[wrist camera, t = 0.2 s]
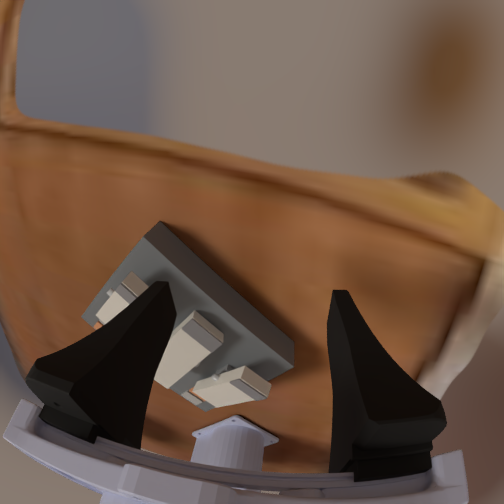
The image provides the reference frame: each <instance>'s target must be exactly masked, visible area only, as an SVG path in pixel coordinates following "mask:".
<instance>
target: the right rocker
mask: <svg viewBox="0 0 504 504" xmlns="http://www.w3.org/2000/svg"><path fill="white" fill-rule="evenodd" d="M270 388H271V384H270V383H268V382H267V381H266V380H264V379H263V378H261V377H260V376H259V375H257V374H256V373H255V372H253V371H252V370H251V369H249V368H248V367H246V366H243V367H240V368H237V369H234V370H231V371H228V372H225V373H222V374H219V375H218V374H216V373H214V374H213V375H212V376H211V377H209V378H206V379H203V380H200V381H197V382H196V385H195V387H194V389H193V391H192V392H194V393H195V394H197V395H198V396H200V397H201V398H203V399H204V400H206V401H207V402H209V403H210V404H212V405H214V406H215V407H222V406H227V405H233V404H238V403H243V402H247V401H252V400H256V401H258V400H263V399H267V397H268V395H269V392H270Z"/></svg>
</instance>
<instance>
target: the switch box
mask: <svg viewBox="0 0 504 504" xmlns="http://www.w3.org/2000/svg"><path fill="white" fill-rule="evenodd" d="M131 271H132V272H133V273H134V274H135V275H137V276H138V277H139V278H140V279H141V280H142V281H143V282H144V283H145V284H146V285H148V286H149V287H150V286H151V285H152V284H153V283H154V282H155V281H167V282H169V286H170V290H171V293H172V297H173V301H174V304H175V308H176V312H177V317H176V321H175V325H174V328H173V331H174V330H175V329H176V328H177V327H178V326H179V325H180V324H181V323H182V322H183V321H184V320H185V319H186V318H187V317H188V316H189V315H190V314H191V313H192V312H193V311H194V310H195V311H197V312H198V313H199V314H200V315H201V316H203V317H204V318H205V319H206V320H207V321H209V322H210V323H211V324H212V325H213V326H215V327H216V328H217V329H218V330H219V331H221V332H222V333H223V334H224V339H223V343H222V345H221V346H219V347H218V348H217V349H216V350H215V351H214V352H212V353H210V354H209V355H208V356H207V357H205V358H204V359H203V360H202V361H201V362H200V365H199V366H198V367H193V368H192V369H191V370H190V371H189V372H187V373H186V374H185V375H184V376H183V377H181V378H180V379H179V380H178V381H177V382H175V383H174V384H173V385H172V386H170V387H169V388H170V389H172V390H173V391H175V392H176V393H178V394H179V395H181V396H182V397H183V398H185V399H186V400H188V401H190V402H191V403H193V404H194V405H196V406H197V407H199V408H200V409H202V410H204V411H205V412H206V411H208V410H210V409H213V408H215V406H214V405H212V404H210V403H209V402H207V401H206V400H204V399H203V398H201V397H200V396H198V395H197V394H195V393H194V392H192V391H193V389H194V387H195V385H196V382H197V381H200V380H203V379H206V378H209V377H211V376H212V375H213V374H214V373H216V374H218V375H219V374H222V373H225V372H228V371H231V370H234V369H237V368H240V367H243V366H246V367H248V368H249V369H251V370H252V371H253V372H255V373H256V374H257V375H259V376H260V377H261V378H263V379H264V380H266V381H269V380H271V379H273V378H275V377H277V376H279V375H280V374H282V373H284V372H286V371H288V370H289V369H291V368H293V367H294V341H292V340H291V339H290V338H289V337H288V336H287V335H285V334H284V333H283V332H282V331H281V330H280V329H278V328H277V327H276V326H275V325H274V324H273V323H271V322H270V321H269V320H268V319H267V318H266V317H265V316H263V315H262V314H261V313H260V312H259V311H258V310H257V309H255V308H254V307H253V306H252V305H251V304H250V303H249V302H248V301H246V300H245V299H244V298H243V297H242V296H241V295H240V294H239V293H237V292H236V291H235V290H234V289H233V288H232V287H231V286H230V285H229V284H227V283H226V282H225V281H224V280H223V279H222V278H221V277H220V276H219V275H217V274H216V273H215V272H214V271H213V270H212V269H211V268H210V267H209V266H208V265H207V264H205V263H204V262H203V261H202V260H201V259H200V258H199V257H198V256H197V255H196V254H195V253H194V252H192V251H191V250H190V249H189V248H188V247H187V246H186V245H185V244H184V243H183V242H182V241H181V240H180V239H179V238H177V237H176V236H175V235H174V234H173V233H172V232H171V231H170V230H169V229H168V228H167V227H166V226H165V225H164V224H163V223H162V222H161V221H159V222H158V223H157V224H156V225H155V226H154V227H153V228H152V229H151V230H150V231H149V232H147V233H146V234H145V235H144V236H143V237H142V239H141V240H140V241H139V242H138V243H137V245H136V246H135V247H134V248H133V250H132V251H131V252H130V253H129V254H128V256H127V257H126V258H125V259H124V261H123V262H122V263H121V265H120V266H119V267H118V268H117V270H116V271H115V272H114V273H113V275H112V276H111V277H110V279H109V280H108V281H107V283H106V284H105V285H104V287H103V288H102V289H101V291H100V292H99V293H98V295H97V296H96V297H95V299H94V300H93V301H92V303H91V304H90V305H89V307H88V308H87V310H86V311H85V312H84V314H83V315H82V318H83V319H84V320H85V321H86V322H88V323H89V324H90V325H91V326H92V327H93V328H94V329H95V330H97V329H99V328H100V327H102V326H103V325H105V323H104V322H102V321H101V320H100V319H99V318H98V317H97V316H96V314H97V313H98V311H99V310H100V309H101V308H102V306H103V305H104V304H105V302H106V301H107V300H108V299H109V297H110V296H109V295H108V294H107V292H108V291H109V289H110V288H112V289H113V290H116V289H117V287H118V286H119V285H120V284H121V283H122V281H123V280H124V279H125V278H126V277H127V276H128V274H129V273H130V272H131Z"/></svg>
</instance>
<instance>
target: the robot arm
mask: <svg viewBox="0 0 504 504" xmlns="http://www.w3.org/2000/svg"><path fill="white" fill-rule="evenodd" d="M176 317H177V312H176V308H175V304H174V301H173V297H172V293H171V290H170V286H169V282H167V281H155V282H154V283H153V284H152V285H151V286H150V287H148V288H147V289H146V290H145V291H144V292H143V293H142V294H141V295H140V296H138V297H137V298H136V299H135V300H134V301H133V302H132V303H130V304H129V305H128V306H127V307H126V308H125V309H124V310H122V311H121V312H120V313H119V314H117V315H116V316H115V317H114V318H112V319H111V320H110V321H109V322H107V323H106V324H105V325H103V326H102V327H100V328H99V329H97V330H96V331H95V332H93V333H91V334H90V335H88V336H86V337H85V338H83V339H81V340H79V341H78V342H76V343H74V344H72V345H70V346H68V347H66V348H64V349H62V350H60V351H57V352H55V353H52V354H50V355H47V356H44V357H41V358H38V359H37V360H36V361H35V363H34V365H33V366H32V368H31V370H30V371H29V373H28V375H27V376H26V378H25V380H26V384H27V385H28V387H29V388H30V389H31V390H32V392H33V393H34V394H35V395H36V396H37V397H38V398H39V399H40V400H41V401H42V402H43V403H44V404H45V405H44V407H43V409H42V408H40V407H39V406H37V405H35V404H33V403H31V402H29V401H28V400H26V399H24V398H22V399H21V401H20V403H19V405H18V407H17V409H16V410H15V412H14V414H13V416H12V418H11V420H10V422H9V424H8V426H7V428H6V431H5V432H4V435H3V438H4V439H6V440H7V441H8V442H9V443H11V444H12V445H13V446H15V447H16V448H18V449H19V450H20V451H22V452H23V453H25V454H26V455H27V456H29V457H30V458H32V459H33V460H35V461H37V462H38V463H40V464H42V465H44V466H45V467H47V468H49V469H51V470H53V471H54V472H56V473H58V474H60V475H62V476H64V477H66V478H68V479H70V480H71V481H74V482H75V483H78V484H80V485H82V486H84V487H86V488H88V489H90V490H92V491H95V492H97V493H99V494H102V497H101V500H100V504H467V503H468V502H469V495H468V487H467V479H466V471H465V465H464V459H463V453H462V450H461V449H459V450H455V451H451V452H447V453H443V454H439V455H436V456H433V457H430V451H431V450H432V449H433V445H432V440H433V439H434V438H435V437H437V436H438V435H439V434H440V433H441V432H442V431H443V430H444V428H445V427H446V424H447V421H446V416H445V412H444V409H443V406H442V404H441V401H440V400H439V399H437V398H436V397H435V396H433V395H432V394H431V393H429V392H428V391H426V390H425V389H424V388H422V387H421V386H420V385H419V384H418V383H417V382H415V381H414V380H413V379H412V378H411V377H410V376H409V375H408V374H407V373H406V372H405V371H404V370H403V369H402V368H401V367H400V366H399V365H398V364H397V363H396V362H395V361H394V360H393V359H392V358H391V356H390V355H389V354H388V353H387V352H386V350H385V349H384V348H383V347H382V345H381V344H380V343H379V341H378V340H377V338H376V337H375V336H374V334H373V333H372V331H371V330H370V328H369V327H368V325H367V323H366V322H365V320H364V319H363V317H362V315H361V314H360V312H359V310H358V309H357V307H356V305H355V303H354V301H353V299H352V297H351V296H350V293H349V292H348V291H347V290H333V292H332V298H331V304H330V310H329V315H328V321H327V346H328V354H329V362H330V370H331V379H332V389H333V418H332V440H331V453H330V464H329V473H317V474H306V473H276V472H261V471H262V462H263V453H264V447H265V446H268V445H271V444H274V443H277V442H278V441H279V438H277V437H275V436H273V435H272V434H270V433H268V432H266V431H264V430H263V429H261V428H259V427H257V426H256V425H254V424H252V423H250V422H249V421H247V420H245V419H244V418H242V417H240V416H238V415H235V416H232V417H230V418H228V419H225V420H223V421H220V422H218V423H215V424H213V425H210V426H208V427H205V428H203V429H200V430H197V431H195V432H193V433H192V435H193V436H194V437H196V438H197V439H196V443H195V447H194V450H193V454H192V458H191V461H190V462H189V461H184V460H179V459H175V458H170V457H166V456H162V455H158V454H154V453H150V452H146V451H143V450H140V449H141V440H142V432H143V425H144V420H145V414H146V409H147V404H148V400H149V396H150V392H151V388H152V384H153V380H154V377H155V374H156V371H157V369H158V366H159V364H160V362H161V359H162V357H163V354H164V352H165V349H166V347H167V345H168V342H169V340H170V337H171V335H172V332H173V328H174V325H175V321H176ZM261 490H264V491H280V493H279V495H277V494H268V493H261Z"/></svg>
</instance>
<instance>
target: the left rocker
mask: <svg viewBox="0 0 504 504" xmlns="http://www.w3.org/2000/svg"><path fill="white" fill-rule="evenodd" d="M148 287H149V286H148V285H146V284H145V283H144V282H143V281H142V280H141V279H140V278H139V277H138V276H137V275H135V274H134V273H133V272H132V271H131V272H130V273H129V274H128V276H127V277H126V278H125V279H124V280H123V281H122V283H121V284H120V285H119V286H118V287H117V289H116V290H113V289H112V288H110V289H109V291H108V292H107V294H108V295H109V296H110V297H109V299H108V300H107V301H106V302H105V304H104V305H103V306H102V308H101V309H100V310H99V311H98V313H97V314H96V316H97V317H98V318H99V319H100V320H101V321H102V322H104V323H105V324H106V323H107V322H109V321H110V320H111V319H112V318H114V317H115V316H116V315H117V314H119V313H120V312H121V311H122V310H124V309H125V308H126V307H127V306H128V305H129V304H130V303H132V302H133V301H134V300H135V299H136V298H137V297H138V296H140V295H141V294H142V293H143V292H144V291H145V290H146V289H147V288H148Z"/></svg>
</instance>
